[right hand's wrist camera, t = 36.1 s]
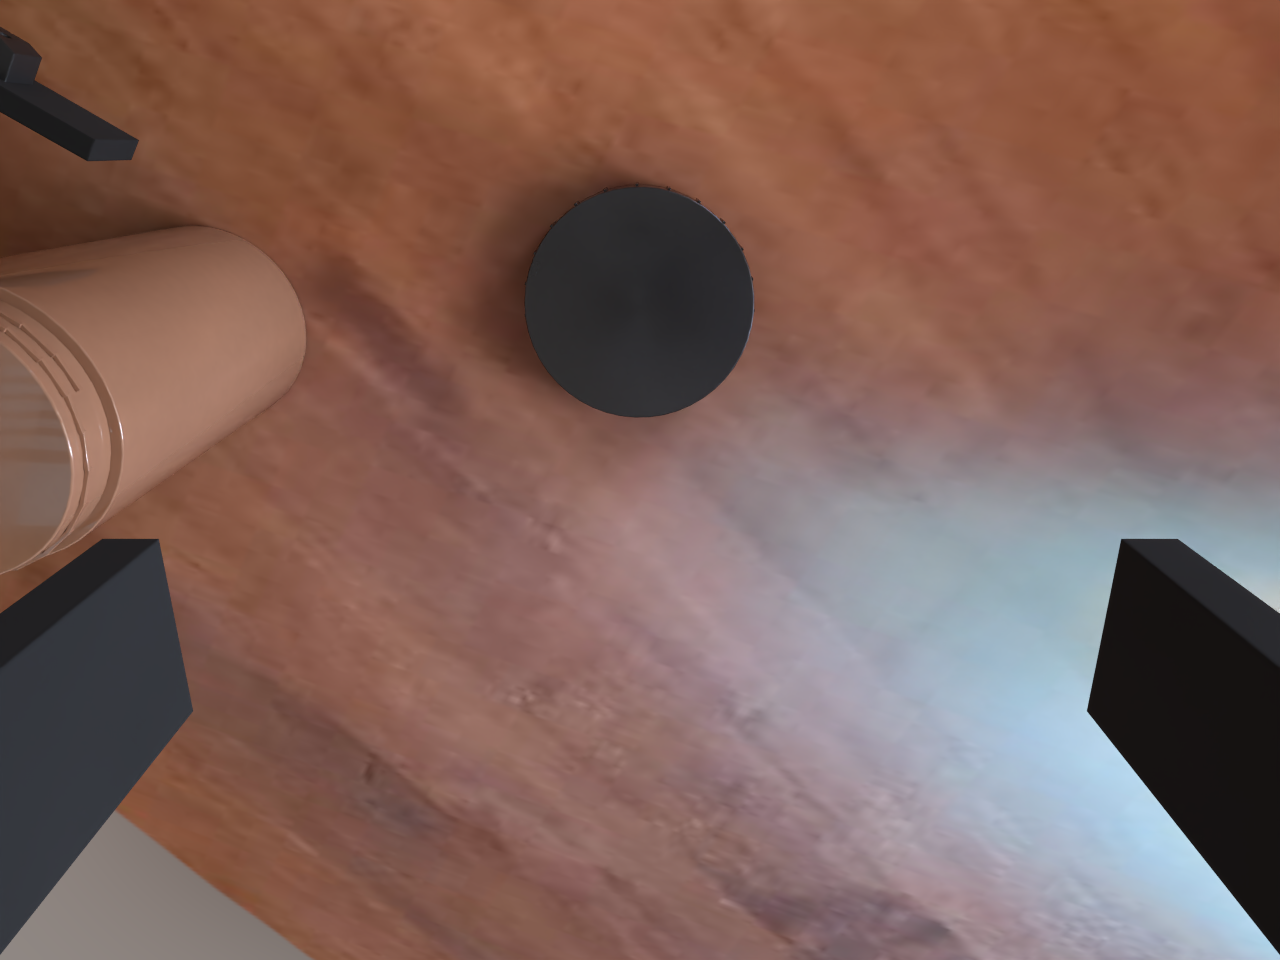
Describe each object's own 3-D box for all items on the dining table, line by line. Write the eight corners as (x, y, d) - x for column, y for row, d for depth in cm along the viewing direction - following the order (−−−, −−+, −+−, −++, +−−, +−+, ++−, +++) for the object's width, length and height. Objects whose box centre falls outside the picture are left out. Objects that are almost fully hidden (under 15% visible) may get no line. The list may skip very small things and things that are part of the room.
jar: (234, 190, 37) (-63, 222, 21) (343, 370, 39) (149, 516, 24) (69, 279, 38) (-325, 371, 22) (186, 448, 41) (-97, 636, 25)
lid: (543, 414, 40) (538, 428, 38) (514, 193, 37) (507, 196, 35) (754, 396, 40) (760, 409, 38) (744, 172, 37) (750, 173, 35)
